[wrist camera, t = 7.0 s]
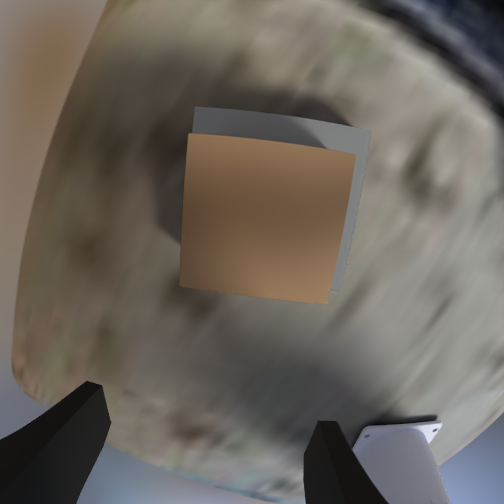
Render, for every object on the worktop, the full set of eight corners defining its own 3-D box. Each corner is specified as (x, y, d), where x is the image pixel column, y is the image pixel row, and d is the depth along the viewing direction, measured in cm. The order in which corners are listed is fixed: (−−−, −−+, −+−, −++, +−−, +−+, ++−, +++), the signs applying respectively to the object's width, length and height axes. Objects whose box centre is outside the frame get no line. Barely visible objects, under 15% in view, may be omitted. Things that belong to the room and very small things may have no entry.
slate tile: (330, 268, 19) (340, 291, 16) (194, 251, 19) (182, 271, 16) (354, 131, 16) (371, 130, 13) (207, 111, 16) (195, 106, 13)
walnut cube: (310, 253, 15) (327, 304, 11) (206, 240, 15) (179, 286, 11) (327, 148, 14) (356, 154, 9) (215, 134, 14) (188, 133, 9)
